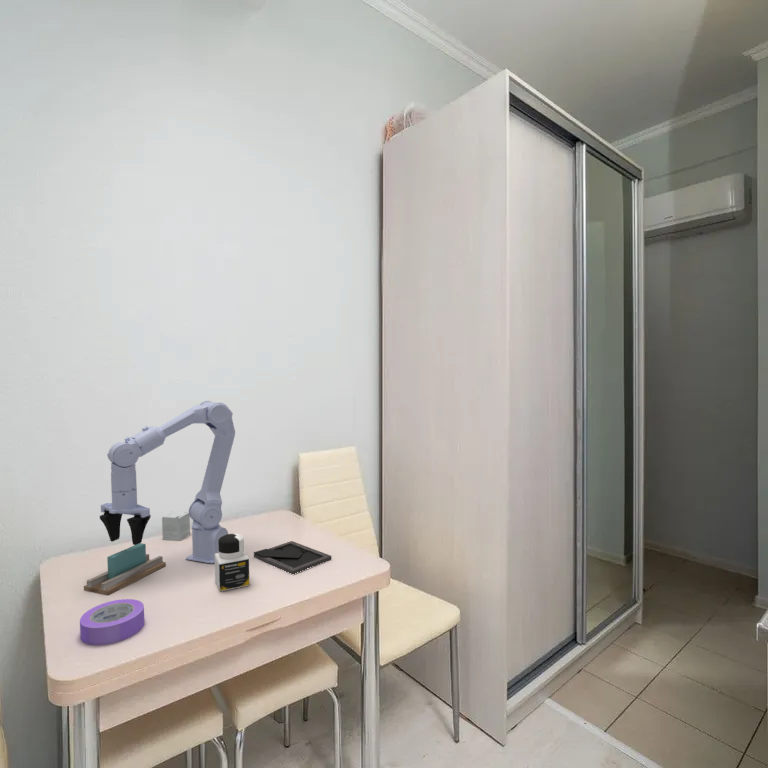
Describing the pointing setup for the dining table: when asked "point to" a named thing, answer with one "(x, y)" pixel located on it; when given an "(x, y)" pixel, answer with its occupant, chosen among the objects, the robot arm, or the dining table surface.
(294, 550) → the picture frame
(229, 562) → the medicine bottle
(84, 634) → the masking tape
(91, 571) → the dining table surface
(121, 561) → the door panel
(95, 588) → the door track
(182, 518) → the skincare box
